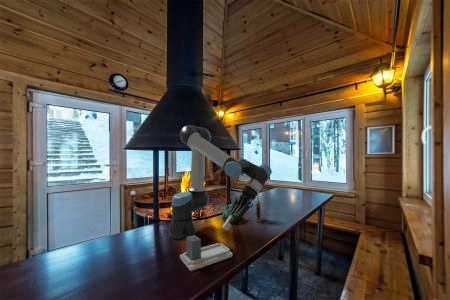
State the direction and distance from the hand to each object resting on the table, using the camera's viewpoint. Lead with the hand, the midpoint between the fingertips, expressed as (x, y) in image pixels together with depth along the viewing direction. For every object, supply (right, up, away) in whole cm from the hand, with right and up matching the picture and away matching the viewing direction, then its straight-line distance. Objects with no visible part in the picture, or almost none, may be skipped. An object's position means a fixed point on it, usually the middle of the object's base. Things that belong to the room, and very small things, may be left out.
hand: (224, 228), depth 92 cm
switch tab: (-13, -9, -8) cm, 18 cm away
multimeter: (+27, -12, +43) cm, 52 cm away
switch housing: (-8, -11, -5) cm, 14 cm away
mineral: (+4, -13, +48) cm, 50 cm away
